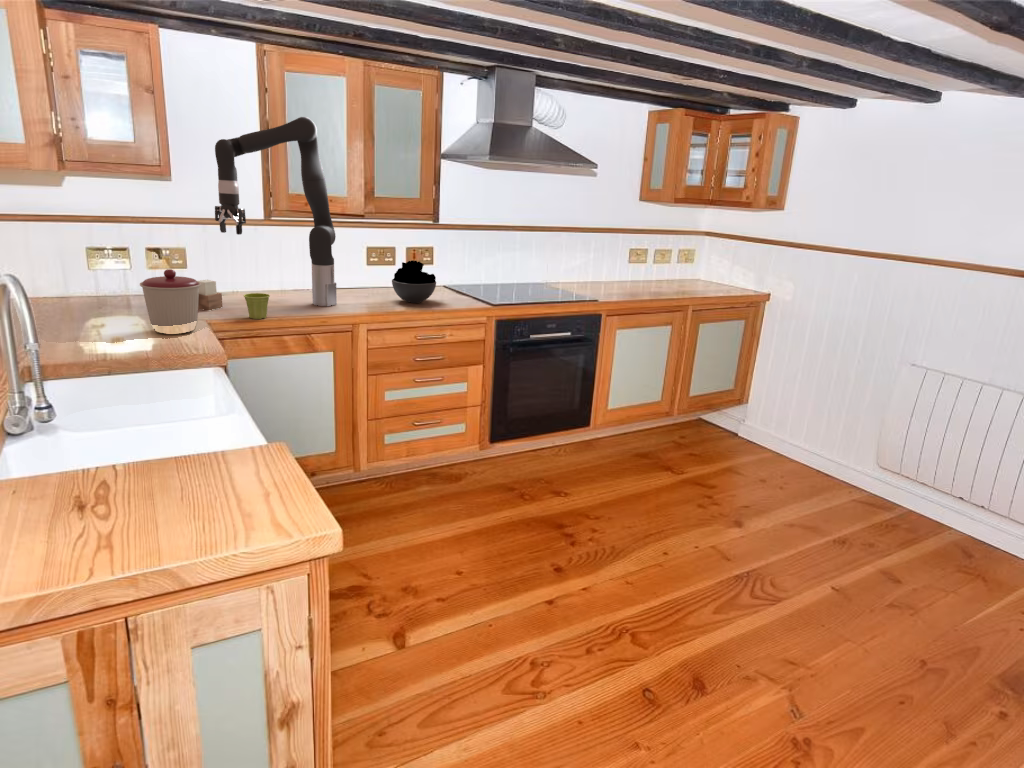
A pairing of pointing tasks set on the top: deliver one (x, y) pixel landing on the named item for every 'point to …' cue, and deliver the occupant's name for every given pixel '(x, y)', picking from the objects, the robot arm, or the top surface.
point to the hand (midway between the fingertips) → (231, 233)
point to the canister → (171, 299)
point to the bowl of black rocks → (413, 282)
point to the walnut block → (210, 301)
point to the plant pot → (257, 305)
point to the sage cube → (207, 287)
